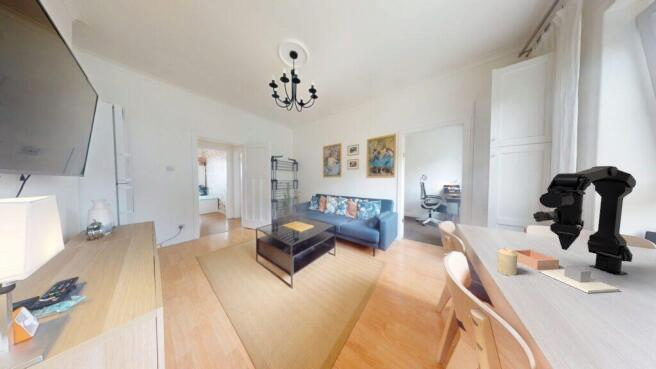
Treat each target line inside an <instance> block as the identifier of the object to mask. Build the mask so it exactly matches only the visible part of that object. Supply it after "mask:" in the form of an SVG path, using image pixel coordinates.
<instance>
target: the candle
mask: <svg viewBox="0 0 656 369" xmlns="http://www.w3.org/2000/svg"><path fill="white" fill-rule="evenodd" d="M512 250H513V249H510V248H508V247H502V248H500V249H498V250H497V263H496V265H497V266H496V270H497V272H498V273H500V274H501V275H504V276H507V277H510V276H516V275H517V271H518V270H517V268H518V262H517V256H518V255H517V254H516V253H515V252H513V251H512Z"/></svg>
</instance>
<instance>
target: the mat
mask: <svg viewBox="0 0 656 369" xmlns="http://www.w3.org/2000/svg"><path fill="white" fill-rule="evenodd" d="M538 273H540V274H541V275H544V276H545V277H548V278H551V279H553V280H555V281H558V282H560V283H562V284H565V285H566V286H569V287H572V288H574V289H577V290H578V291H581V292H584V291H582V290H580V289H578V288H575V287H573V286H571V285H568V284H566V283H564V282H561V281H559V280H557V279H555V278H552V277H550V276H548V275H545V274H543V273H541V271H538ZM622 292H623V291H622V290H619V291H610V292H594V293H587V292H584V293H585V294H588V295H596V294H598V295H599V294H612V293H622Z"/></svg>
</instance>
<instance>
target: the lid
mask: <svg viewBox="0 0 656 369" xmlns="http://www.w3.org/2000/svg"><path fill="white" fill-rule="evenodd" d="M540 272H541V273H543V274H542V275H544V274H545V275H544V276H546V275H548V276H550V277H549V278H551V277H552V278H551V279H553V278H555V279H557V280H556V281H558V280H559V281H558V282H560V281H561V282H560V283H562V282H564V283H566V284H565V285H567V284H568V285H567V286H569V285H571V286H573V287H572V288H574V287H575V288H574V289H576V288H578V289H580V290H582V291H581V292H583V291H584V293H585V292H587V293H594V292H610V291H620V290H619V289H620V288H618V287H616V286H612V285H609V284H608V283H605V282H602V281H599V280H597V279H595V278H593V277H591V274H592V272H591V270H588V269H586V268H582V267H579V266H577V265H565V266H564V269H547V270H540ZM541 273H540V274H541ZM548 276H547V277H548ZM555 279H554V280H555ZM564 283H563V284H564ZM571 286H570V287H571ZM578 289H577V290H578ZM580 290H579V291H580ZM587 293H586V294H587Z"/></svg>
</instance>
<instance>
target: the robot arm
mask: <svg viewBox="0 0 656 369" xmlns="http://www.w3.org/2000/svg"><path fill="white" fill-rule="evenodd" d="M591 184H592V185H593V186H594V191H595V192H596V193H597V194H598V196H600V208H599V216H598V223H597V224H598V226H597V231H596V232H594V233H593V234H590V235H589V237H588V240H587V243H586V244H587V251H588V253H590V254H591V253H592V254H594V255H595V263H594V265H593V264H592V265H591V264H590V265H588V266H589V267H591V268H593V269H596V270H598V271H601V272H606V273H608V274H611V275H614V276H619V275H620V276H621V275H623V276H624V275H628V272H626V271H622V267H623V265H622V264H623V263H624V262H629V263H632V262H633V261H632V260H633V253H632V252H631V250H630V249H629V247H628V245H627V240H626V239H625V238H624V237H623V236H622V234H620V230H621V223H622V213H623V204H624V199H625V198H626V197H627V196H628V195H629V194H631V193H632V192H633V190H634V188H635V187H636V185H637V180H636V179H635V177H634V176H633V175H632V174H631V173H630V172H629V173H628V172H626V171H623V170H621V169H619V168H618V167H617V166H613V165H600V166H599V165H597V166H592V167H591V168H588V169H585V170H581V171H578V172H569V173H568V172H565V173H563V172H561V173H558V174H556V175H555V176H554V177H553V178H552V180H551V182H550V183H549V185H548V187H547V188H546V191H547V192H546V193H543V194H542V195H540V197H539V203H540V204H541V205H542V206H543V207H545V208H547V209H553V211H552V210H549V211H543V210H541V211H536V212H534V213H533V214H532V215H533V219H534V220H535V222H537V223H540V222H547V221H548V222H549V221H553V222H552V223H550V226H549V231H551V233H553V234H554V235H556V236H557V238H558V240H559V244H560V247H561V250H564V251H568V250H569V248H570V247H571V246H572V245H573V244H574V242H575V241H576V240H577V239H578V237H580V235H581V231H582V230H583V229H584V226H585V221H584V220H583V219H582V218H583V216H582V215H583V211H584V210H583V206H584V204H583V203H584V195H586V193H587V192H586V190H587V188H589V187H590V186H591Z"/></svg>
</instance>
